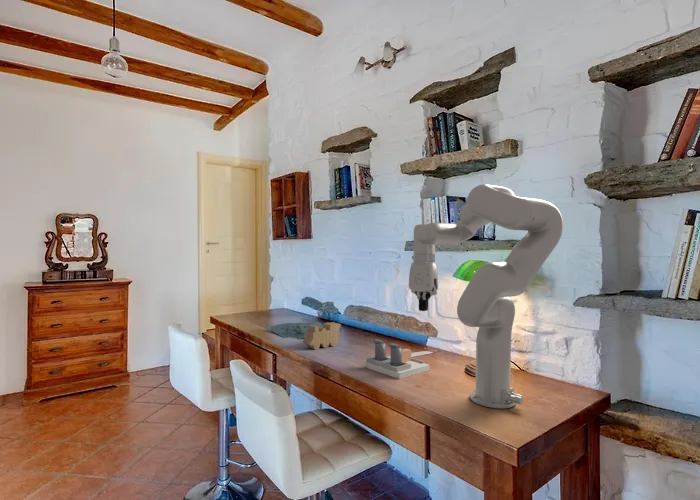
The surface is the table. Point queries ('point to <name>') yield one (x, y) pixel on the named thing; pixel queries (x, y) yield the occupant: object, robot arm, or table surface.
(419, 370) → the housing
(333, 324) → the toy train
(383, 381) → the table surface
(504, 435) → the table surface
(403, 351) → the latch bar
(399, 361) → the peg
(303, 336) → the terrain model
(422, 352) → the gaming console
